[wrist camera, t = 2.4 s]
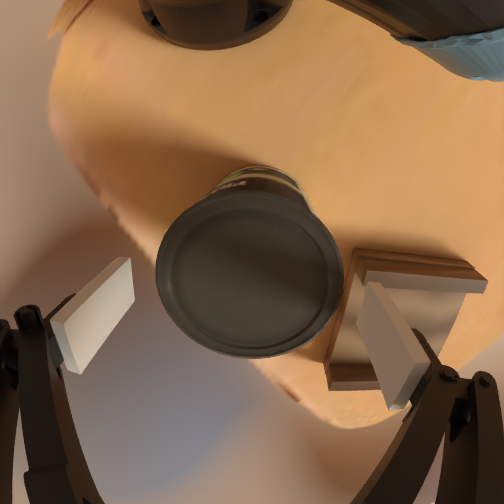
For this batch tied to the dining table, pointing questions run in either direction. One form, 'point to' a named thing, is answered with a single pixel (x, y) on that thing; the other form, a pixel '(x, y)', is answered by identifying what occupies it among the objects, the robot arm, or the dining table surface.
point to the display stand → (407, 301)
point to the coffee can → (250, 267)
